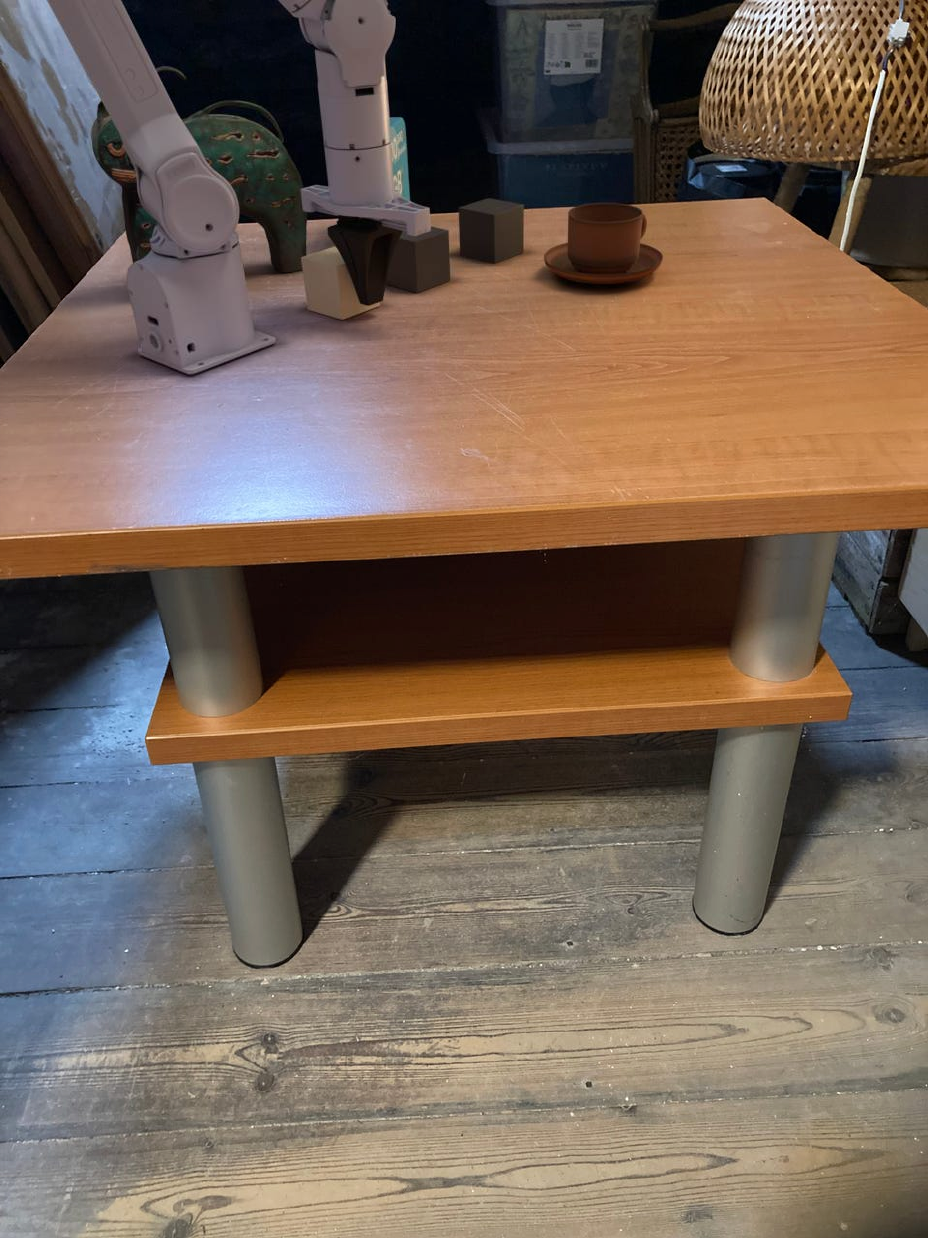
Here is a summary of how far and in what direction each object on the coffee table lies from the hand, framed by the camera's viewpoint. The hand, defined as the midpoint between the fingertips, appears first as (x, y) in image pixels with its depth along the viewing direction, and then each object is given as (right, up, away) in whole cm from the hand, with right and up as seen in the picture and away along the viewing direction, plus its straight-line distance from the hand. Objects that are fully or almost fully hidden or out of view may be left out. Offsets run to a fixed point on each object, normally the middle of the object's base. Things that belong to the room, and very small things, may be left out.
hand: (371, 301), depth 90 cm
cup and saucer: (+23, +6, +9) cm, 25 cm away
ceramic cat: (-17, +6, +11) cm, 21 cm away
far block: (+12, +11, +16) cm, 22 cm away
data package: (-1, +14, +22) cm, 26 cm away
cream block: (-3, 0, +3) cm, 4 cm away
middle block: (+4, +5, +9) cm, 11 cm away
